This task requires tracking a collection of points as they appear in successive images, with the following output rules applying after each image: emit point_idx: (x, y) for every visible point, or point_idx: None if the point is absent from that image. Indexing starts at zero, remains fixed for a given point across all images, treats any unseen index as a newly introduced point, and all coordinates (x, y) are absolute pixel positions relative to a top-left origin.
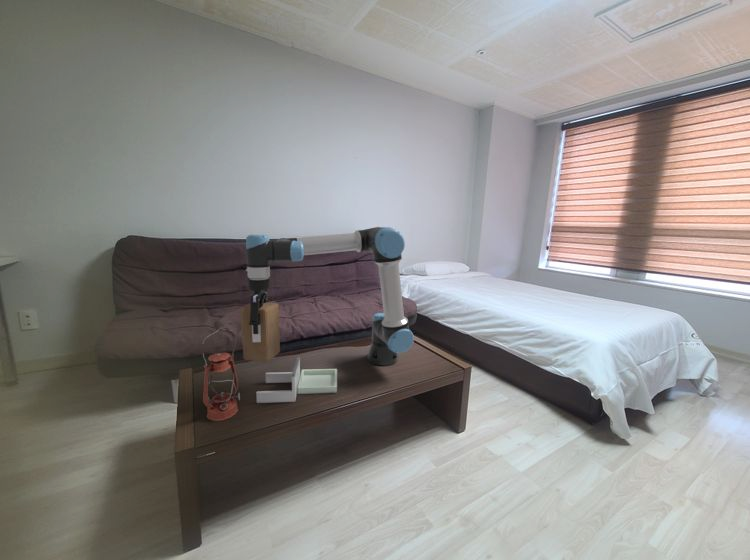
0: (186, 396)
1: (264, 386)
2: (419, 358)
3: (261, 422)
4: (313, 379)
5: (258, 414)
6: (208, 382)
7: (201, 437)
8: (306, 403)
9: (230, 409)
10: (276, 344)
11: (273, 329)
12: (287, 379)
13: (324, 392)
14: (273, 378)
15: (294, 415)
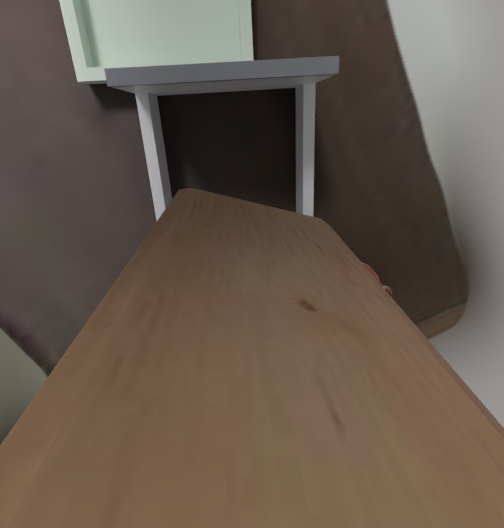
0: None
1: None
2: None
3: (411, 169)
4: (133, 9)
5: (368, 191)
6: None
7: (441, 299)
8: (321, 19)
9: (374, 275)
10: (231, 212)
11: (279, 277)
12: (161, 140)
13: None
14: (168, 200)
15: (393, 59)
